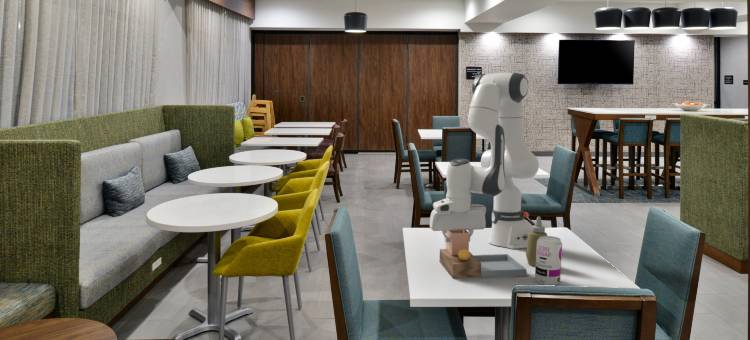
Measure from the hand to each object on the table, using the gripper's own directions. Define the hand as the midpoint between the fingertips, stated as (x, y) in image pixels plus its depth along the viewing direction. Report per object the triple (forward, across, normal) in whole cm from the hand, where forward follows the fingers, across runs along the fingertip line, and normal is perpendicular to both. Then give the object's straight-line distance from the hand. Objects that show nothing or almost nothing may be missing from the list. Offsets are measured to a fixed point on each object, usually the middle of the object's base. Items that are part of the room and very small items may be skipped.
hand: (457, 241), depth 208 cm
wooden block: (+9, 0, +4) cm, 10 cm away
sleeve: (+4, 0, 0) cm, 4 cm away
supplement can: (+9, -26, +20) cm, 34 cm away
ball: (+2, 0, +9) cm, 9 cm away
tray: (+9, -13, +5) cm, 17 cm away
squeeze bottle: (+10, -30, +2) cm, 31 cm away
